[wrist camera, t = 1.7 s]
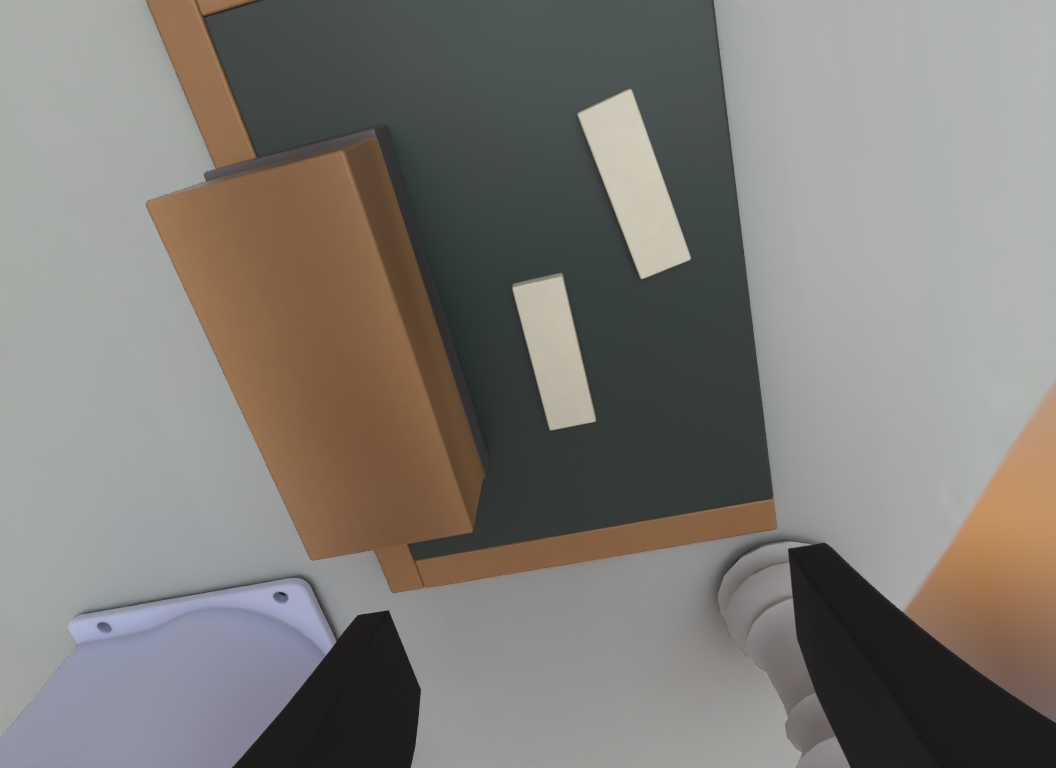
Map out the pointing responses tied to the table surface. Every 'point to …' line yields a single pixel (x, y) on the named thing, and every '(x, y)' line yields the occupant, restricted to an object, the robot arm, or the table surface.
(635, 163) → the chalk mark
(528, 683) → the table surface
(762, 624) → the rook chess piece
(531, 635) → the table surface
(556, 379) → the chalk mark
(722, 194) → the chalkboard
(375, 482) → the duster
